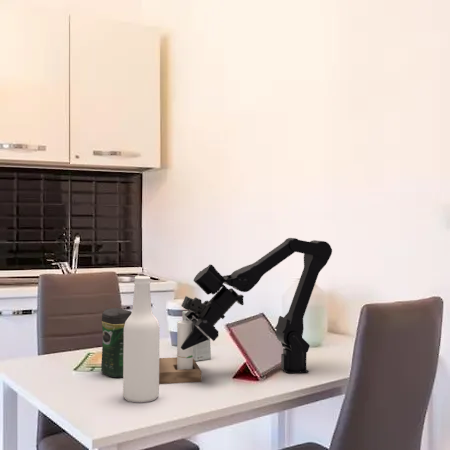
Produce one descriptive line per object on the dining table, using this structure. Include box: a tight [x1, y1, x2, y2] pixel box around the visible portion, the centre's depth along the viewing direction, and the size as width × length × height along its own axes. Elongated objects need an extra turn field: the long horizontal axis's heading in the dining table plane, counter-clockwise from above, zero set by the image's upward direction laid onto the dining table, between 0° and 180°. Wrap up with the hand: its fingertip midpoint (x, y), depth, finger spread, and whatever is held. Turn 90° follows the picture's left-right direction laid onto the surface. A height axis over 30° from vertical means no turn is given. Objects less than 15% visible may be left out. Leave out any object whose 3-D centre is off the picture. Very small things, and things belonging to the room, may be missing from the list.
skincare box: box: [181, 310, 212, 362], centre depth 186 cm, size 8×6×15 cm
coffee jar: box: [100, 307, 132, 378], centre depth 166 cm, size 10×8×19 cm
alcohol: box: [122, 275, 161, 404], centre depth 145 cm, size 9×9×30 cm
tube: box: [176, 320, 193, 370], centre depth 163 cm, size 4×4×15 cm
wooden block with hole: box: [159, 356, 202, 385], centre depth 166 cm, size 14×16×3 cm
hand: (180, 347), depth 163 cm, fingers closed on tube, 4 cm apart
